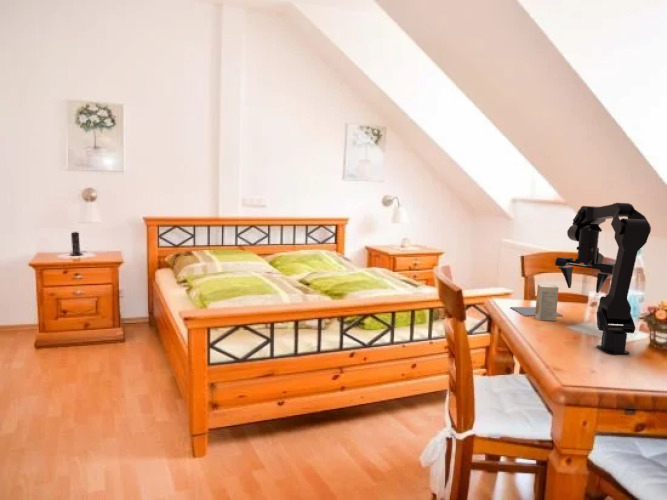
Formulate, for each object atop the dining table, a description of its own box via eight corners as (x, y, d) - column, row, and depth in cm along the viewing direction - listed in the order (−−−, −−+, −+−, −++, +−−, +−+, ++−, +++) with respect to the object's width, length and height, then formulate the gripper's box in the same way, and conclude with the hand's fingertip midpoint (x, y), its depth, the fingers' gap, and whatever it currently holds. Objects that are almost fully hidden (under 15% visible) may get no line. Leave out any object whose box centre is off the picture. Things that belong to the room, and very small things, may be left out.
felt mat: (562, 316, 194) (562, 315, 194) (524, 316, 192) (524, 315, 192) (546, 308, 205) (546, 307, 205) (510, 308, 203) (510, 307, 203)
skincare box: (552, 318, 191) (555, 284, 189) (555, 321, 187) (559, 287, 185) (533, 316, 192) (537, 283, 190) (537, 320, 188) (540, 286, 186)
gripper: (627, 246, 174) (622, 293, 176) (570, 240, 188) (566, 283, 190) (614, 248, 167) (608, 296, 169) (556, 241, 180) (551, 286, 182)
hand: (583, 290), depth 178 cm, fingers open, 9 cm apart
